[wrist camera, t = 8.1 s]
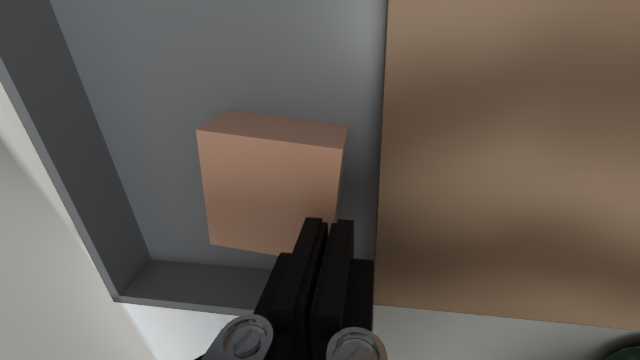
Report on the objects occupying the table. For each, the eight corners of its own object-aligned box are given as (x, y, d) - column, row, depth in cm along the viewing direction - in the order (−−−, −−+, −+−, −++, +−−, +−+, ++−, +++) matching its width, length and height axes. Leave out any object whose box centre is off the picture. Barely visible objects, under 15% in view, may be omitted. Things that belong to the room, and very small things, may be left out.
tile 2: (336, 226, 14) (329, 264, 12) (234, 210, 15) (210, 244, 13) (348, 125, 12) (342, 149, 10) (226, 109, 13) (195, 130, 10)
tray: (373, 279, 16) (372, 331, 14) (151, 260, 18) (113, 301, 16) (401, -306, 7) (415, -483, 5) (-37, -213, 9) (-195, -299, 7)
